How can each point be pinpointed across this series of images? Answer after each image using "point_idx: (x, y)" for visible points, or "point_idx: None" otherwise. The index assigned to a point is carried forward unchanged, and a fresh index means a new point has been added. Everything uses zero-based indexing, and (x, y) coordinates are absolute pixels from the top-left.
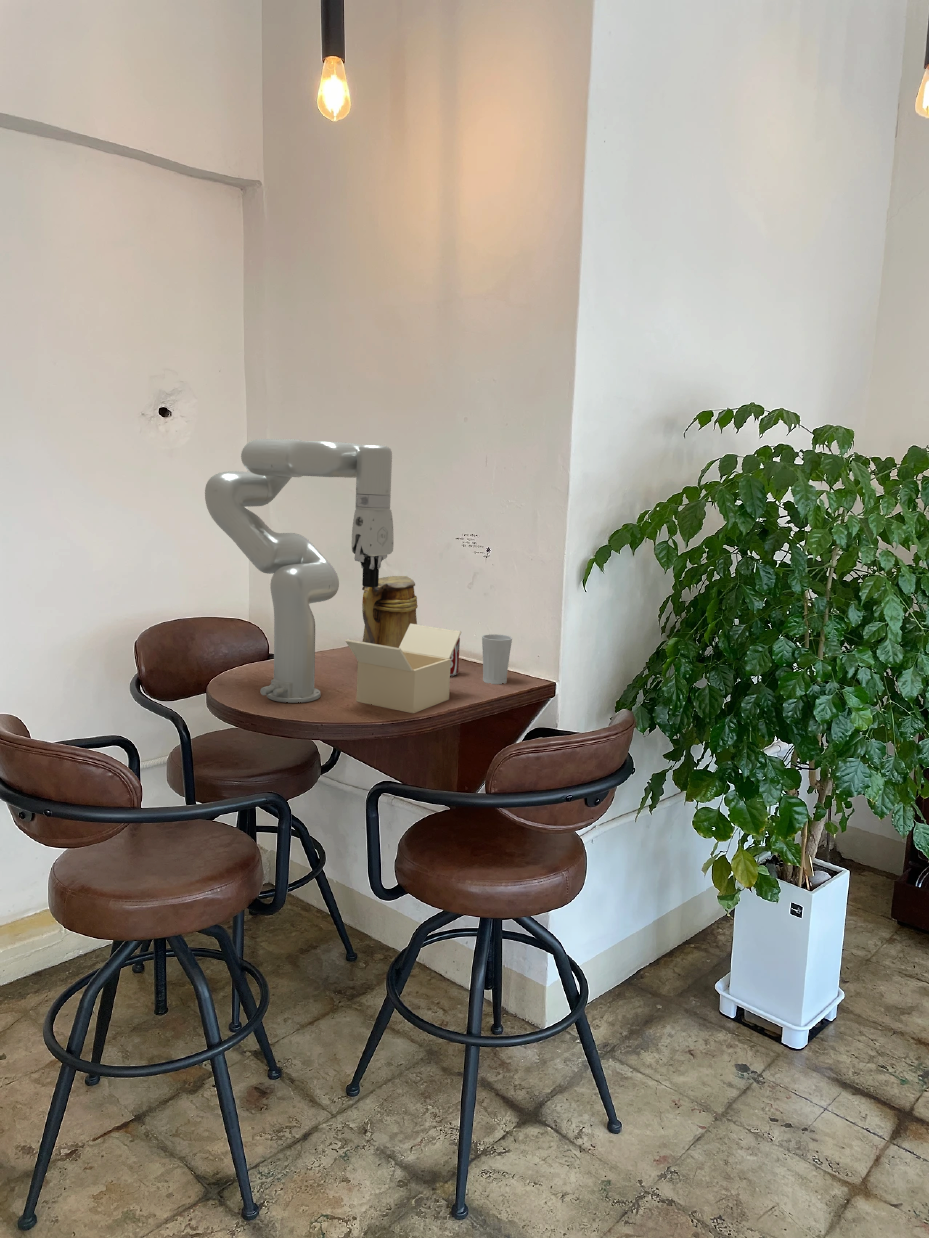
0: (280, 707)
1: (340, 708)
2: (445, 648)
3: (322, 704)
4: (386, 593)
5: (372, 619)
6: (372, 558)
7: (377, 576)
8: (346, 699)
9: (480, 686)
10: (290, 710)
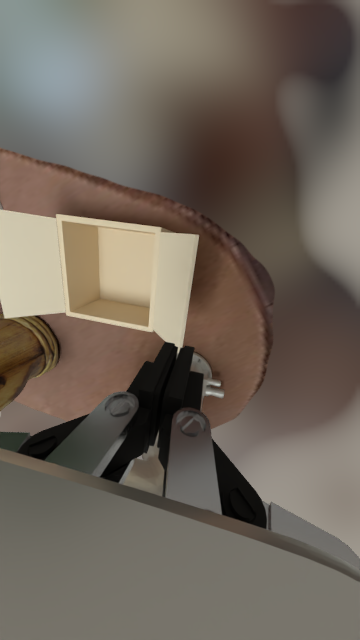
0: (226, 367)
1: (199, 316)
2: (36, 230)
3: (195, 338)
4: None
5: (9, 383)
6: (192, 495)
7: (163, 365)
8: None
9: None
10: (232, 355)
